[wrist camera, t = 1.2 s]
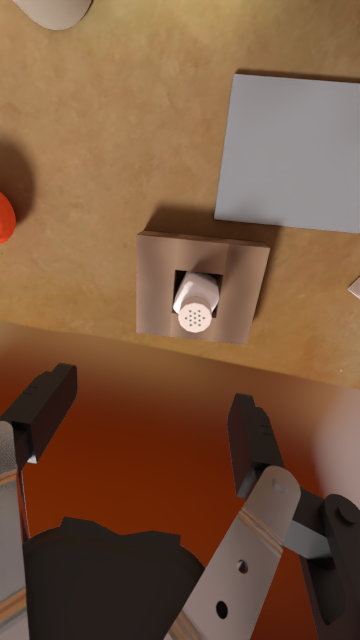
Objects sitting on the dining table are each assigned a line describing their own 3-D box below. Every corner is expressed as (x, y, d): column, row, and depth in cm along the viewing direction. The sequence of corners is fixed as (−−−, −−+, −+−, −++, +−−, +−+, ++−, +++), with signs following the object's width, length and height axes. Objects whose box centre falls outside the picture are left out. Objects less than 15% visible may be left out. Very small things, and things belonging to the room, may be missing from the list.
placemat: (414, 90, 22) (419, 88, 21) (357, 232, 27) (360, 233, 27) (233, 76, 22) (233, 73, 22) (213, 218, 28) (214, 219, 27)
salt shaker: (190, 263, 31) (185, 291, 22) (218, 278, 31) (224, 310, 23) (176, 290, 32) (166, 325, 24) (202, 304, 33) (203, 342, 25)
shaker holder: (262, 242, 29) (270, 248, 26) (242, 331, 34) (246, 345, 31) (143, 230, 29) (136, 234, 26) (142, 320, 35) (136, 332, 32)
